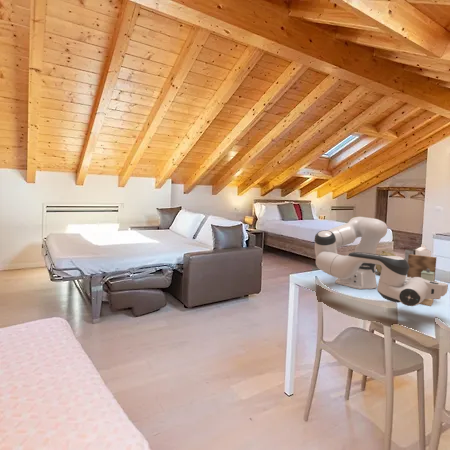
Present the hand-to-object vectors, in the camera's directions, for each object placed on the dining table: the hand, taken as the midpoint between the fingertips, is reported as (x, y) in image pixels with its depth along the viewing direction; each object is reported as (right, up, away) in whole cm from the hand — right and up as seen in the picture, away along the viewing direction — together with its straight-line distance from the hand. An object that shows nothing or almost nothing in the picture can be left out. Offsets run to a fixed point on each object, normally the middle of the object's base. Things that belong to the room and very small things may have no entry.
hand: (423, 280), depth 157 cm
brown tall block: (+7, -12, +17) cm, 22 cm away
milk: (+26, -8, +48) cm, 55 cm away
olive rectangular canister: (+8, -9, +12) cm, 17 cm away
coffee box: (+30, -6, +65) cm, 72 cm away
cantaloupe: (+12, -6, +62) cm, 64 cm away
